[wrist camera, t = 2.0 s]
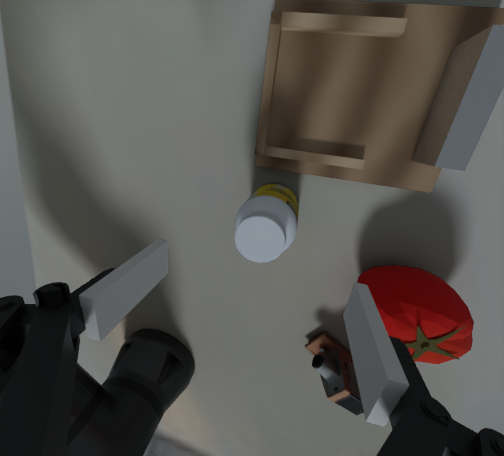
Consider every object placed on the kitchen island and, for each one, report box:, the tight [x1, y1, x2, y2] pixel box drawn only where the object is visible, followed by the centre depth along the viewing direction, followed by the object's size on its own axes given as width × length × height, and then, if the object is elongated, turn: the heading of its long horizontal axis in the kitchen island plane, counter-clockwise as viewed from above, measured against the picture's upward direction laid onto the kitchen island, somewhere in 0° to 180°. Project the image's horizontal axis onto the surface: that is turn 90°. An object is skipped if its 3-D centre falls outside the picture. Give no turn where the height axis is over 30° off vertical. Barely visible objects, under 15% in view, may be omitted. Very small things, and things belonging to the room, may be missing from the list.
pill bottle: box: [235, 183, 299, 263], centre depth 26 cm, size 6×6×12 cm
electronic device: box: [305, 332, 364, 415], centre depth 35 cm, size 4×10×8 cm, turn 51°
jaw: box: [411, 25, 504, 171], centre depth 21 cm, size 2×10×5 cm, turn 173°
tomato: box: [357, 265, 474, 364], centre depth 28 cm, size 11×13×10 cm
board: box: [255, 0, 504, 193], centre depth 24 cm, size 20×16×3 cm
